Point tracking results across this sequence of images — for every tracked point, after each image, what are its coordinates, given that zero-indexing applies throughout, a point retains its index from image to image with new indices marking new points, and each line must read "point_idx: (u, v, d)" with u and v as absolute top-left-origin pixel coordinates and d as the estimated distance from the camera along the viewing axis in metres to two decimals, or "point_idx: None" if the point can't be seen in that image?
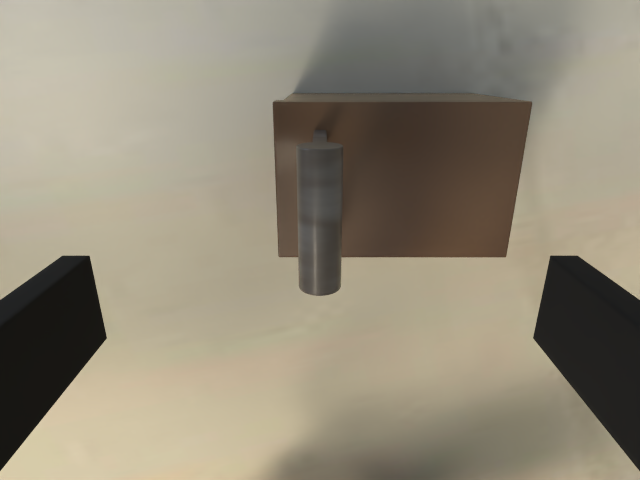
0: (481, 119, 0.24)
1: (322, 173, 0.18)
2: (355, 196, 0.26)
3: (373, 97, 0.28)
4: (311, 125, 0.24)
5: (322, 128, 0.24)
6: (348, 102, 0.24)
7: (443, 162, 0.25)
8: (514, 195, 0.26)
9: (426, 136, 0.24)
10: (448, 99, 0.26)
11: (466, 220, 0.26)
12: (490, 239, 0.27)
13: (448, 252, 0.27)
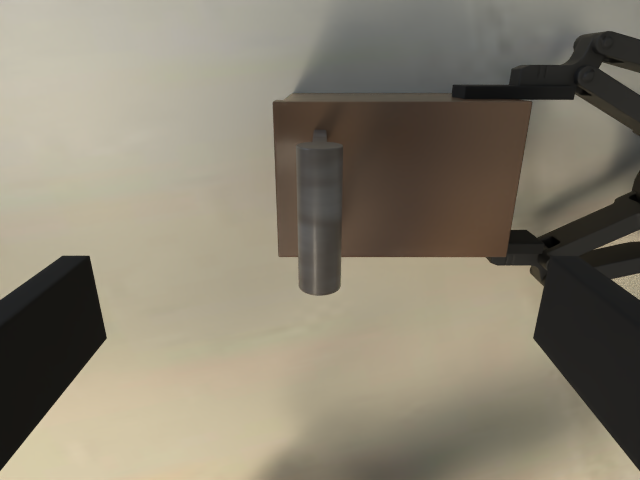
0: (481, 119, 0.24)
1: (322, 173, 0.18)
2: (355, 196, 0.26)
3: (373, 97, 0.28)
4: (311, 125, 0.24)
5: (322, 128, 0.24)
6: (348, 102, 0.24)
7: (443, 162, 0.25)
8: (514, 195, 0.26)
9: (426, 136, 0.24)
10: (448, 99, 0.26)
11: (466, 220, 0.26)
12: (490, 239, 0.27)
13: (448, 251, 0.27)
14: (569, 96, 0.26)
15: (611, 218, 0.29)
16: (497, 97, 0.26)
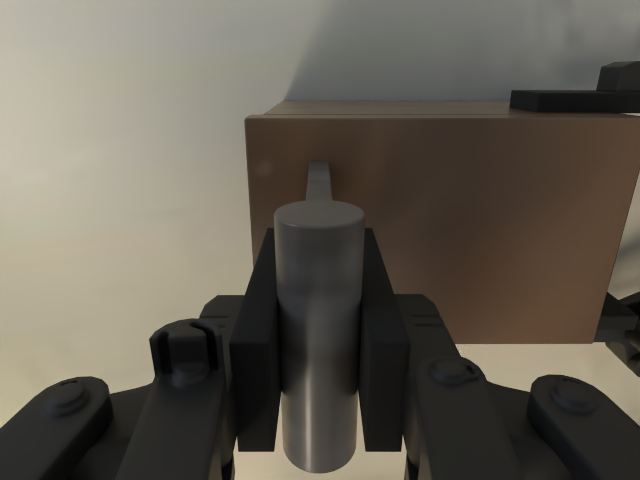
0: (571, 145, 0.15)
1: (324, 271, 0.09)
2: None
3: (397, 108, 0.19)
4: (305, 154, 0.15)
5: (322, 159, 0.15)
6: (363, 119, 0.15)
7: (508, 210, 0.16)
8: (613, 257, 0.17)
9: (484, 171, 0.16)
10: (513, 112, 0.17)
11: (537, 293, 0.17)
12: (572, 319, 0.18)
13: (509, 337, 0.18)
14: None
15: None
16: (586, 110, 0.17)
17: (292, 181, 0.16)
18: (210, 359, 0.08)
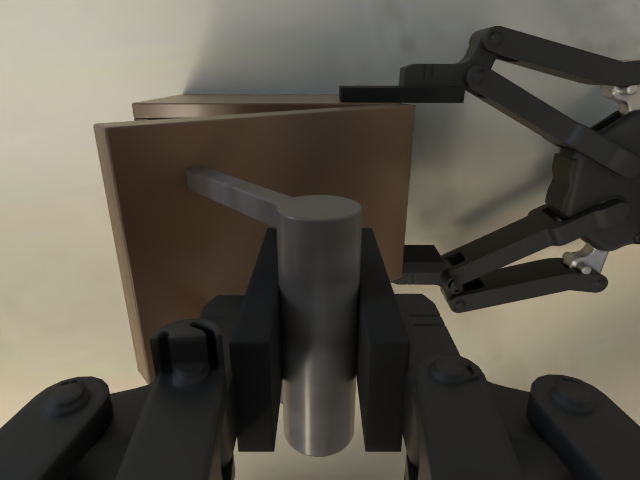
0: (377, 129, 0.20)
1: (351, 256, 0.10)
2: (254, 256, 0.17)
3: (249, 99, 0.25)
4: (179, 162, 0.14)
5: (197, 164, 0.15)
6: (231, 119, 0.15)
7: (346, 186, 0.20)
8: (405, 209, 0.23)
9: (328, 157, 0.18)
10: (323, 102, 0.23)
11: None
12: (390, 262, 0.23)
13: None
14: (458, 99, 0.23)
15: (519, 233, 0.27)
16: (377, 100, 0.23)
17: (169, 193, 0.14)
18: (210, 360, 0.08)
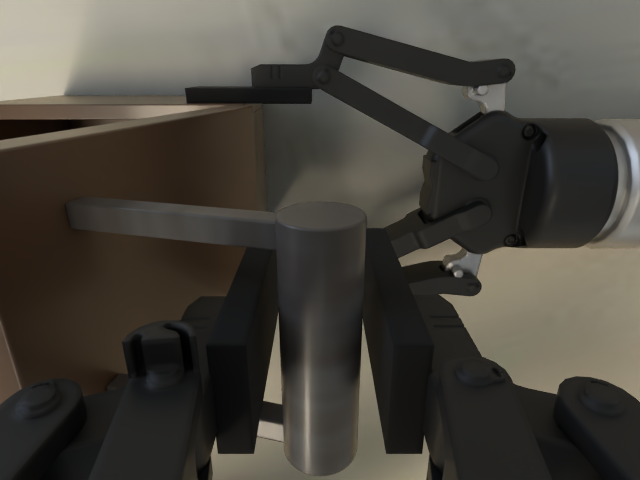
0: (230, 132, 0.19)
1: (364, 258, 0.10)
2: (147, 295, 0.14)
3: (104, 100, 0.24)
4: (56, 194, 0.10)
5: (76, 195, 0.11)
6: (105, 132, 0.12)
7: (214, 196, 0.18)
8: (257, 210, 0.23)
9: (197, 166, 0.17)
10: (167, 103, 0.22)
11: (237, 257, 0.21)
12: None
13: None
14: (305, 100, 0.22)
15: (389, 236, 0.26)
16: (223, 101, 0.23)
17: (49, 239, 0.10)
18: (185, 361, 0.08)
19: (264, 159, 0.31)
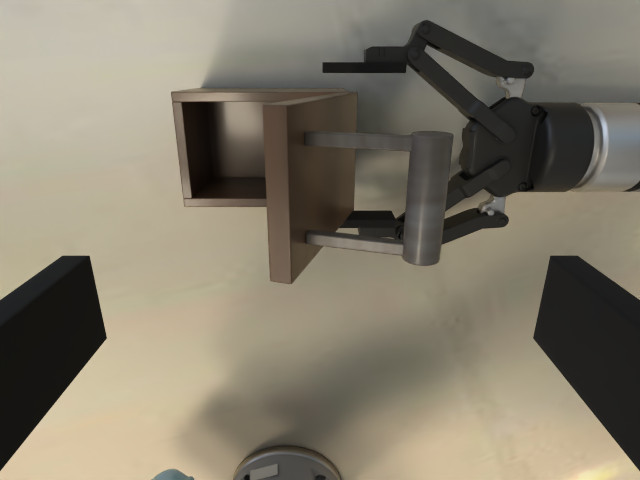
0: (348, 108, 0.31)
1: (450, 154, 0.21)
2: (318, 192, 0.26)
3: (248, 90, 0.36)
4: (302, 127, 0.22)
5: (306, 129, 0.23)
6: (314, 100, 0.24)
7: None
8: (354, 162, 0.34)
9: (336, 126, 0.28)
10: (297, 91, 0.34)
11: (346, 189, 0.33)
12: (351, 199, 0.35)
13: (342, 219, 0.33)
14: (402, 70, 0.34)
15: None
16: (347, 71, 0.34)
17: (300, 148, 0.22)
18: None
19: None
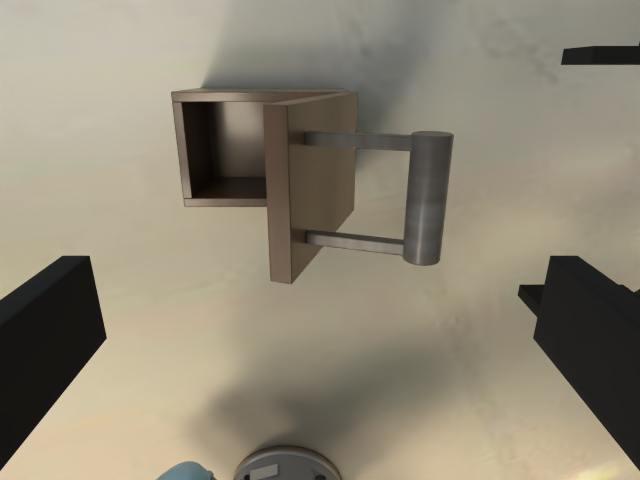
0: (348, 108, 0.31)
1: (451, 154, 0.21)
2: (318, 192, 0.26)
3: (248, 90, 0.36)
4: (302, 127, 0.22)
5: (306, 129, 0.23)
6: (314, 100, 0.24)
7: None
8: None
9: (337, 126, 0.28)
10: (297, 91, 0.34)
11: (346, 189, 0.33)
12: (351, 199, 0.35)
13: (342, 219, 0.33)
14: None
15: None
16: (633, 61, 0.20)
17: (300, 148, 0.22)
18: None
19: None
